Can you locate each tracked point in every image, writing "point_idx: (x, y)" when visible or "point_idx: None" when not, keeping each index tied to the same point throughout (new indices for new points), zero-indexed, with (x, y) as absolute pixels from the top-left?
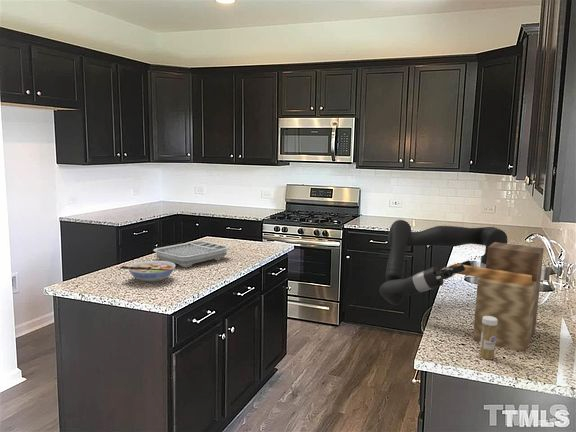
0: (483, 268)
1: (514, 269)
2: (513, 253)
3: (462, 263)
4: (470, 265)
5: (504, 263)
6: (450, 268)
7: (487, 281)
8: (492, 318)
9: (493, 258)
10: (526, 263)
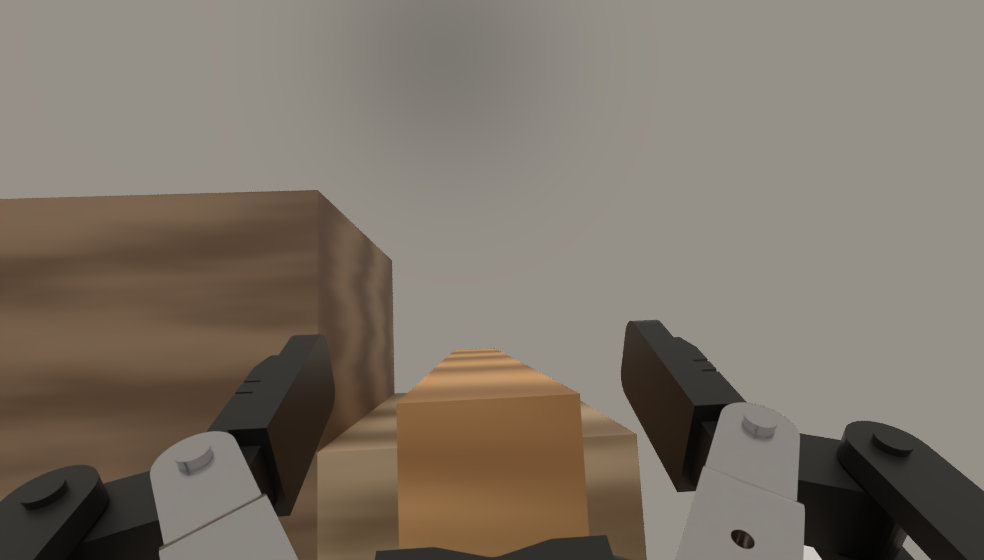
0: (466, 362)
1: (371, 356)
2: (367, 257)
3: (290, 402)
4: (334, 397)
5: (356, 327)
6: (777, 419)
7: (599, 420)
8: (812, 552)
9: (335, 296)
10: (383, 311)
